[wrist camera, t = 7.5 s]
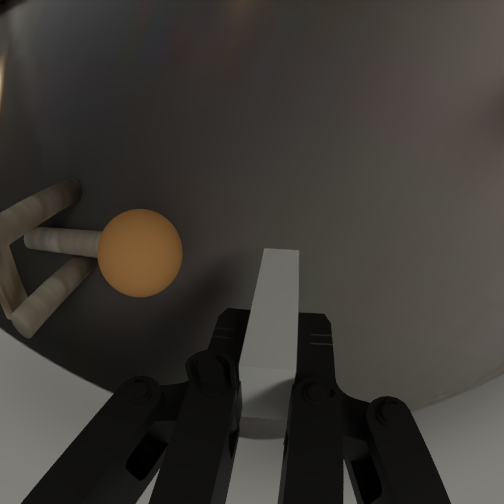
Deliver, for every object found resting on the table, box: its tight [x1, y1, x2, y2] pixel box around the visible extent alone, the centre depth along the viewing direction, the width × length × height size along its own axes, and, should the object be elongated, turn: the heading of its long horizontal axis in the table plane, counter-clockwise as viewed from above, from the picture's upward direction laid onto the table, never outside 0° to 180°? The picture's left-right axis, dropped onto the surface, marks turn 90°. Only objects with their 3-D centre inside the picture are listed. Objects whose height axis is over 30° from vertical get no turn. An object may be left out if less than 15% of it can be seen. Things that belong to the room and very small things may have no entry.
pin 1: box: [0, 177, 82, 251], centre depth 16 cm, size 2×2×9 cm
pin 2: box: [11, 255, 97, 338], centre depth 18 cm, size 2×2×9 cm
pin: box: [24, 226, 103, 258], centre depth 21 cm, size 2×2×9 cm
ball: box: [97, 209, 183, 297], centre depth 18 cm, size 6×6×6 cm
